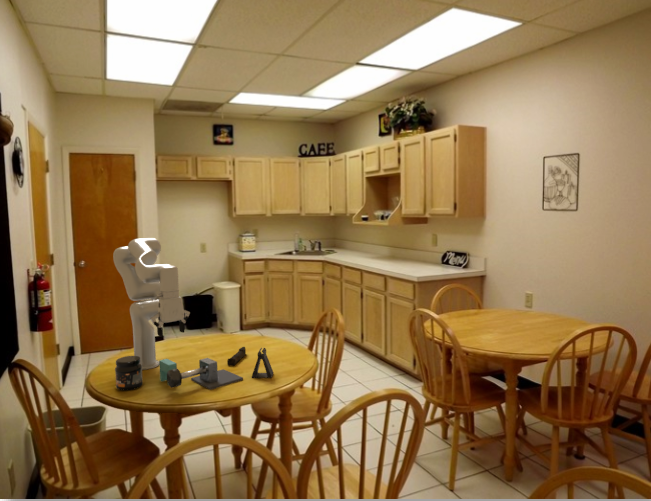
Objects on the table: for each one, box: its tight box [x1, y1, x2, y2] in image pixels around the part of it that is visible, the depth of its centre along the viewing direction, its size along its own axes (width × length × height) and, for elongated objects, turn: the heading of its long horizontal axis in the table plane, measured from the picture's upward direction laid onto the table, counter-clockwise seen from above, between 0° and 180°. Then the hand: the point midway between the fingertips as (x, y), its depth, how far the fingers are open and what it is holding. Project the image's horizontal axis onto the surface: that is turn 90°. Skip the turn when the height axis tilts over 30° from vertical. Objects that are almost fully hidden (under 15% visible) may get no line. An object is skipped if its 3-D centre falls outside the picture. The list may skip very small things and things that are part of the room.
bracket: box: [198, 357, 219, 384], centre depth 201 cm, size 8×4×8 cm, turn 44°
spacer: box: [158, 358, 178, 386], centre depth 202 cm, size 9×4×9 cm, turn 44°
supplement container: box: [114, 355, 144, 392], centre depth 197 cm, size 10×10×12 cm
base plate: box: [190, 368, 244, 391], centre depth 204 cm, size 16×16×1 cm
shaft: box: [166, 367, 206, 388], centre depth 195 cm, size 7×19×7 cm, turn 134°
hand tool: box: [227, 346, 247, 367], centre depth 232 cm, size 19×4×5 cm, turn 167°
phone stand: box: [251, 347, 274, 379], centre depth 208 cm, size 9×6×12 cm, turn 88°
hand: (171, 334), depth 202 cm, fingers open, 9 cm apart
